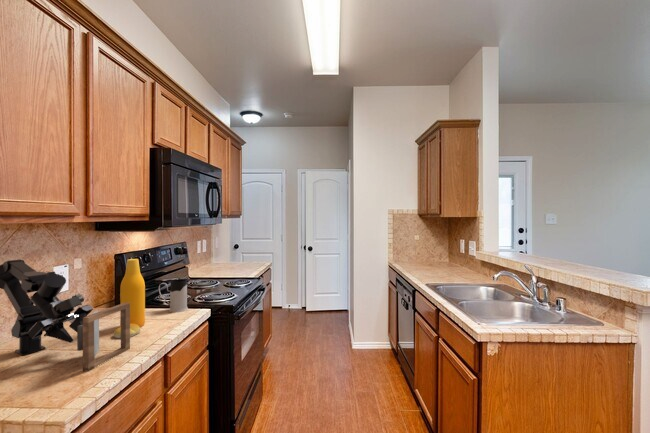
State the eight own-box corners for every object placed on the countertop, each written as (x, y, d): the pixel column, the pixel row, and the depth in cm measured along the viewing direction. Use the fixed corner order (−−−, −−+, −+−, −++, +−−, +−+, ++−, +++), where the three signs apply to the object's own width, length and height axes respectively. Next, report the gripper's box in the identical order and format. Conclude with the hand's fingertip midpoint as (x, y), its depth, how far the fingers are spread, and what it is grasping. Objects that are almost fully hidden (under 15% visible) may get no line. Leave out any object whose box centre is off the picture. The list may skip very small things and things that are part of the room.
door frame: (82, 370, 98) (82, 317, 98) (124, 348, 115) (124, 302, 115) (88, 371, 97) (88, 317, 97) (129, 348, 114) (129, 302, 114)
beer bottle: (115, 330, 133) (115, 261, 133) (128, 322, 142) (128, 258, 142) (137, 330, 133) (137, 261, 133) (149, 322, 142) (149, 258, 142)
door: (66, 369, 98) (66, 323, 98) (79, 352, 109) (79, 312, 109) (87, 365, 100) (87, 321, 100) (99, 350, 112) (99, 310, 112)
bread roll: (109, 337, 125) (109, 327, 125) (130, 330, 133) (130, 320, 133) (123, 340, 122) (123, 330, 122) (144, 332, 130) (144, 323, 130)
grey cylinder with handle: (184, 312, 157) (184, 282, 157) (154, 312, 156) (154, 282, 156) (190, 307, 166) (190, 278, 166) (162, 307, 165) (162, 278, 165)
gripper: (35, 295, 98) (68, 333, 96) (88, 282, 116) (115, 313, 115) (14, 320, 99) (45, 357, 97) (69, 303, 117) (96, 334, 116)
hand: (78, 338), depth 106 cm, fingers open, 5 cm apart
